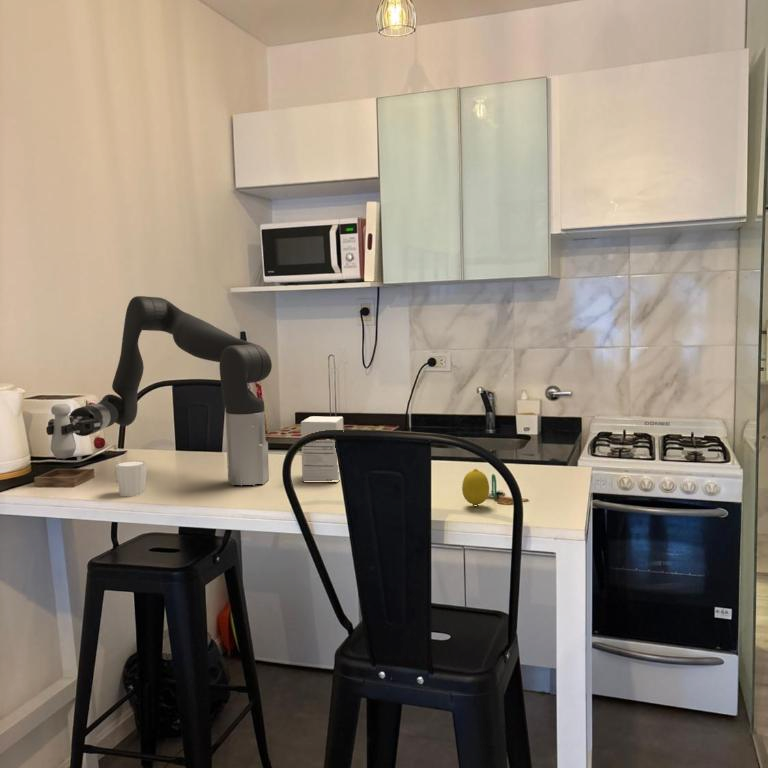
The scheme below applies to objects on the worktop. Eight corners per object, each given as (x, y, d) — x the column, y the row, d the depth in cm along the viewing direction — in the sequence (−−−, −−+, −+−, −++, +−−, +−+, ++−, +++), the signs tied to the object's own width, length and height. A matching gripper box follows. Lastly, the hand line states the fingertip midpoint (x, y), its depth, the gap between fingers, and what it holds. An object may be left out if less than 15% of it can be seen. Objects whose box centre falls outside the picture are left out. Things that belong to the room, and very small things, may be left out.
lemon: (487, 503, 154) (487, 466, 153) (490, 510, 148) (490, 471, 148) (461, 503, 154) (461, 466, 153) (463, 510, 149) (463, 472, 148)
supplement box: (310, 474, 184) (309, 415, 183) (345, 475, 183) (344, 415, 181) (301, 482, 175) (299, 421, 174) (337, 483, 174) (336, 421, 172)
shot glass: (138, 497, 164) (137, 466, 163) (110, 496, 165) (108, 466, 164) (153, 490, 170) (152, 460, 170) (126, 489, 172) (125, 460, 171)
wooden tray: (94, 477, 185) (93, 468, 185) (74, 486, 175) (74, 477, 175) (56, 477, 186) (56, 468, 186) (34, 486, 176) (34, 477, 176)
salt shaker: (66, 459, 177) (63, 406, 175) (45, 458, 178) (42, 406, 176) (81, 454, 182) (78, 403, 181) (61, 453, 184) (57, 402, 182)
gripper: (63, 405, 194) (26, 415, 177) (114, 405, 192) (82, 415, 175) (65, 433, 194) (28, 446, 177) (116, 433, 193) (84, 446, 176)
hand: (55, 430), depth 176 cm, fingers closed on salt shaker, 3 cm apart
